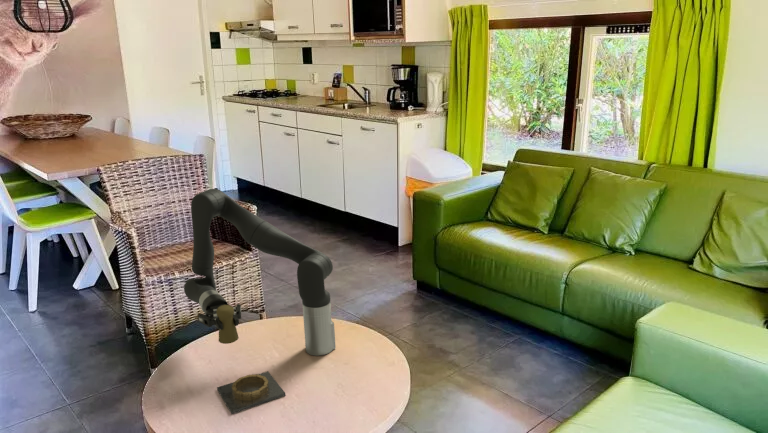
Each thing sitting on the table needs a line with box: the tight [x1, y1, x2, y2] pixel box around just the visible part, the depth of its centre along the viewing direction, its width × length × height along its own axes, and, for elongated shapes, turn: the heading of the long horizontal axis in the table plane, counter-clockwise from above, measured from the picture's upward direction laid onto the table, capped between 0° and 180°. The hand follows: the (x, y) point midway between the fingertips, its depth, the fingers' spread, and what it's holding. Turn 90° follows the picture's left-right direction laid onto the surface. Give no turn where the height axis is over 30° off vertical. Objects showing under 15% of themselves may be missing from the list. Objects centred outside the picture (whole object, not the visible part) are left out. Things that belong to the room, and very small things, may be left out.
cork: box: [217, 304, 239, 345], centre depth 177 cm, size 6×6×11 cm
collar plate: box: [216, 371, 286, 415], centre depth 170 cm, size 16×14×3 cm
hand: (229, 324), depth 175 cm, fingers closed on cork, 4 cm apart
